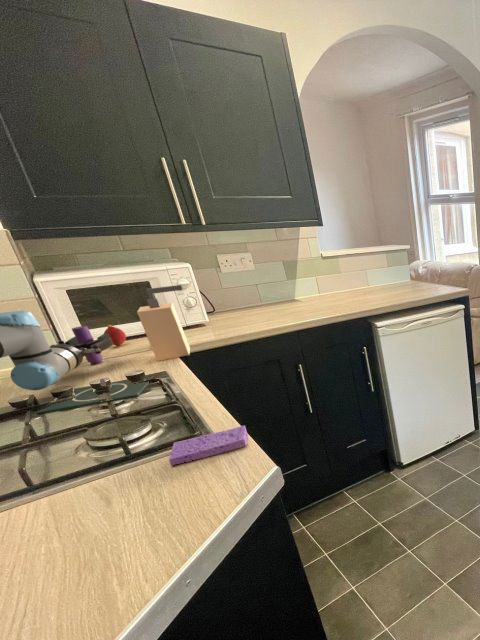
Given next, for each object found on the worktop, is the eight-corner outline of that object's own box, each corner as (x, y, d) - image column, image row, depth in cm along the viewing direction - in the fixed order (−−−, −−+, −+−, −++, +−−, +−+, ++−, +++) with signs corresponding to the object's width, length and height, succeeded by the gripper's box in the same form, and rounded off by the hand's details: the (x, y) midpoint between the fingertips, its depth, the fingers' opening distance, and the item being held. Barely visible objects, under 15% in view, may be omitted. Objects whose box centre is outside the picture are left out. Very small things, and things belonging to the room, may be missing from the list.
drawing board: (37, 414, 102) (35, 412, 102) (66, 391, 114) (65, 389, 114) (138, 396, 109) (137, 394, 109) (155, 377, 122) (154, 374, 122)
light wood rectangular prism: (157, 361, 135) (128, 293, 126) (159, 354, 141) (132, 289, 132) (204, 352, 141) (180, 286, 132) (204, 346, 148) (181, 283, 139)
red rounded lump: (125, 342, 156) (116, 321, 153) (132, 344, 153) (122, 323, 150) (106, 347, 152) (96, 326, 148) (112, 349, 149) (102, 327, 146)
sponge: (247, 447, 83) (244, 439, 83) (170, 467, 78) (166, 459, 77) (248, 432, 89) (245, 424, 88) (176, 450, 84) (172, 442, 83)
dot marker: (87, 366, 134) (69, 329, 129) (92, 362, 137) (74, 327, 132) (101, 363, 135) (84, 328, 130) (105, 360, 138) (89, 325, 133)
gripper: (18, 379, 116) (58, 355, 135) (110, 365, 123) (135, 344, 142) (4, 354, 113) (47, 332, 132) (98, 341, 120) (126, 322, 139)
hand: (93, 338), depth 137 cm, fingers open, 7 cm apart
